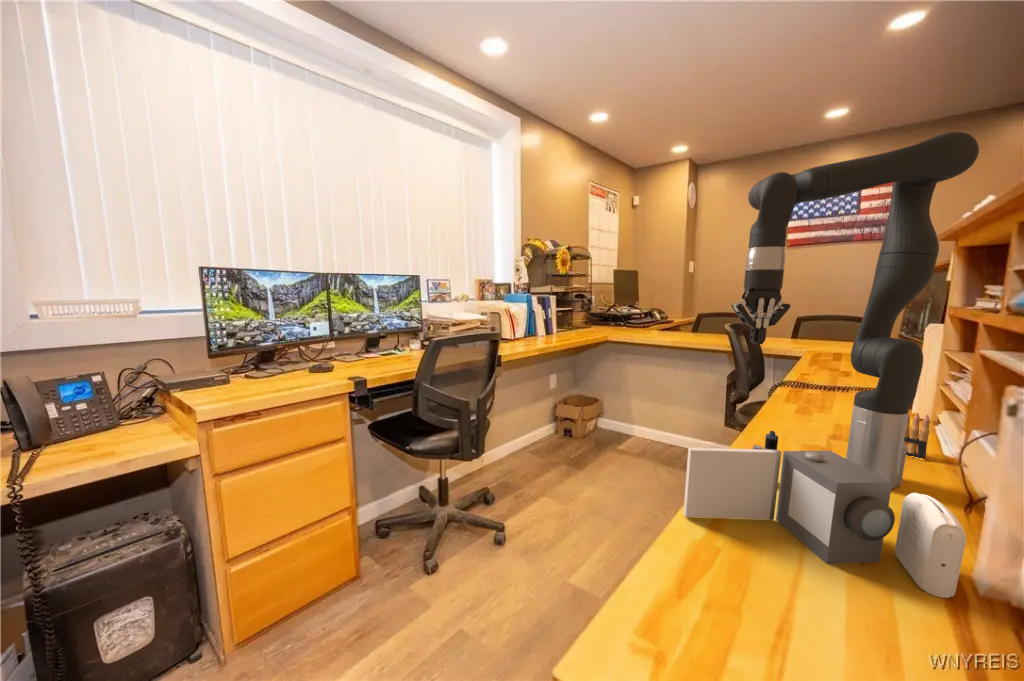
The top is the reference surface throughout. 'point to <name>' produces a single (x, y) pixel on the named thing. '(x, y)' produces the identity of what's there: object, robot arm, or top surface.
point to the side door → (731, 483)
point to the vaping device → (769, 442)
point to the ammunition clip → (913, 436)
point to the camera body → (834, 506)
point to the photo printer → (930, 544)
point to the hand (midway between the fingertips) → (757, 343)
